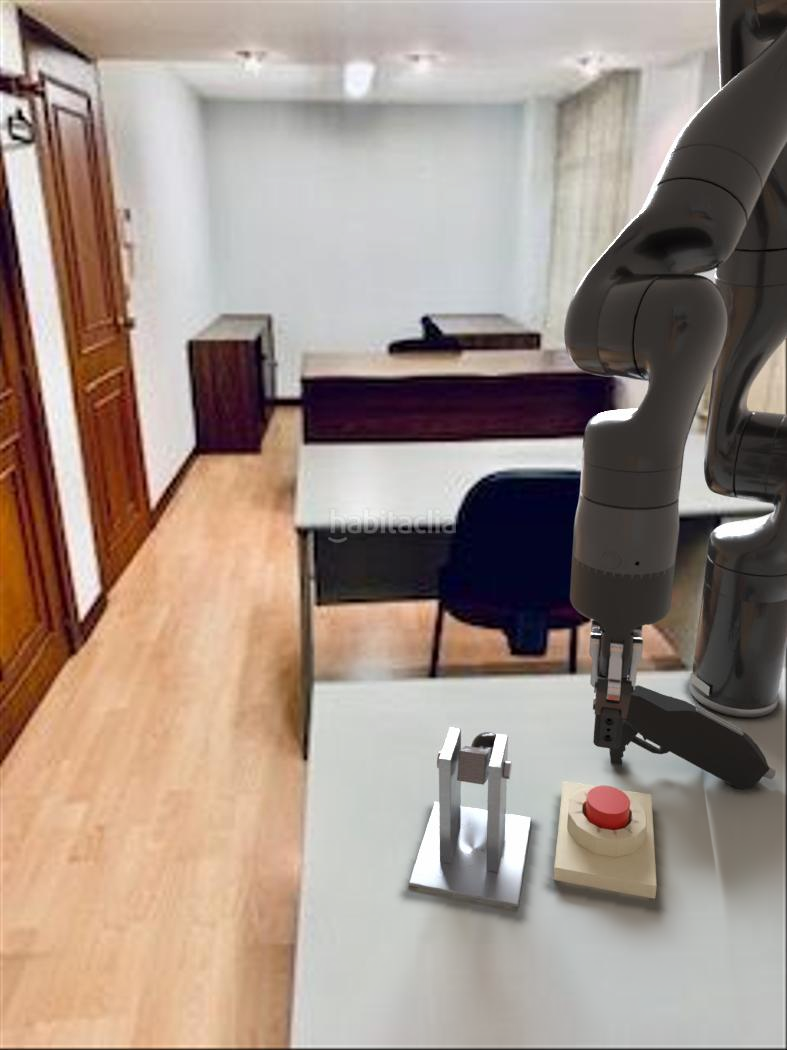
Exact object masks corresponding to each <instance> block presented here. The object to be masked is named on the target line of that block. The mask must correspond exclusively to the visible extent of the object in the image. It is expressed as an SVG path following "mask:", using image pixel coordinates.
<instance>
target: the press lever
mask: <svg viewBox="0 0 787 1050" xmlns="http://www.w3.org/2000/svg"><path fill="white" fill-rule="evenodd" d="M496 734H497V733H494V732H492V731H491V732H490V731H484V732H481V733H479V734H478V735H476V736H475V737H474V739H473V740H472V742H471V745H470V746H469V745H464V746H463V747H461V750H460V751H459V762H458V773H457V781H461V782H463V783H469V784H476V785H482V786H483V785H485V783H486V782H488V766H489V762H490V758H491V754H492V750H493V746H494V742H495V738H496Z"/></svg>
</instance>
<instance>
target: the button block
mask: <svg viewBox="0 0 787 1050" xmlns="http://www.w3.org/2000/svg"><path fill="white" fill-rule="evenodd" d="M597 786H598V785H593V784H587V783H579V782H573V781H565V780H563V781H562V787H561V798H560V808H559V817H558V827H557V836H556V837H557V838H556V847H555V855H554V856H555V858H554V864H553V865H554V867H553V880H554V881H558V882H564V883H568V884H569V883H570V884H574V885H579V886H584V887H585V886H586V887H590V888H595V889H600V890H605V891H606V890H607V891H612V892H617V893H622V894H627V895H634V896H637V897H643V898H650V899H654V900H655V899H656V895H657V887H658V885H657V884H658V883H657V866H656V851H655V835H654V834H655V833H654V816H653V815H654V814H653V800H652V799H653V798H652V794H650V793H645V792H637V791H632V790H631V791H629V790H624V789H620V790H621V791H622V792H624V793H625V794H626V795H627V796H628V798H629V800H630V810H629V820H628V823H627V825H626V826H625V827H623V828H622V829H618V830H609V829H603V828H599V827H597V826H595V825H594V824H592V823H591V822H590V821H589V820H588V819H587V817H586V799H587V794H588V792H589V791H590V790H591V789H592V788H594V787H597Z"/></svg>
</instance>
